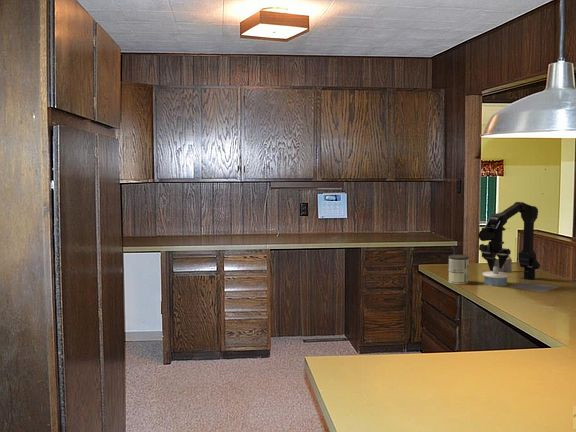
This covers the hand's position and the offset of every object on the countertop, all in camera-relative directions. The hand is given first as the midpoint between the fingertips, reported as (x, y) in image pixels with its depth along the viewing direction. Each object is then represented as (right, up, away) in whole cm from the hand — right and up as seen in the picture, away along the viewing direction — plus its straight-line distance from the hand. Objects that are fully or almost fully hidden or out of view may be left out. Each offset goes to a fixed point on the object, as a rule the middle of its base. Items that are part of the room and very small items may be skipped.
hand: (495, 269), depth 306 cm
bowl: (0, -8, +1) cm, 8 cm away
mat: (+16, -9, -7) cm, 20 cm away
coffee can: (-17, -8, +8) cm, 21 cm away
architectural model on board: (+16, -5, +36) cm, 40 cm away
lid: (0, -3, 0) cm, 3 cm away
